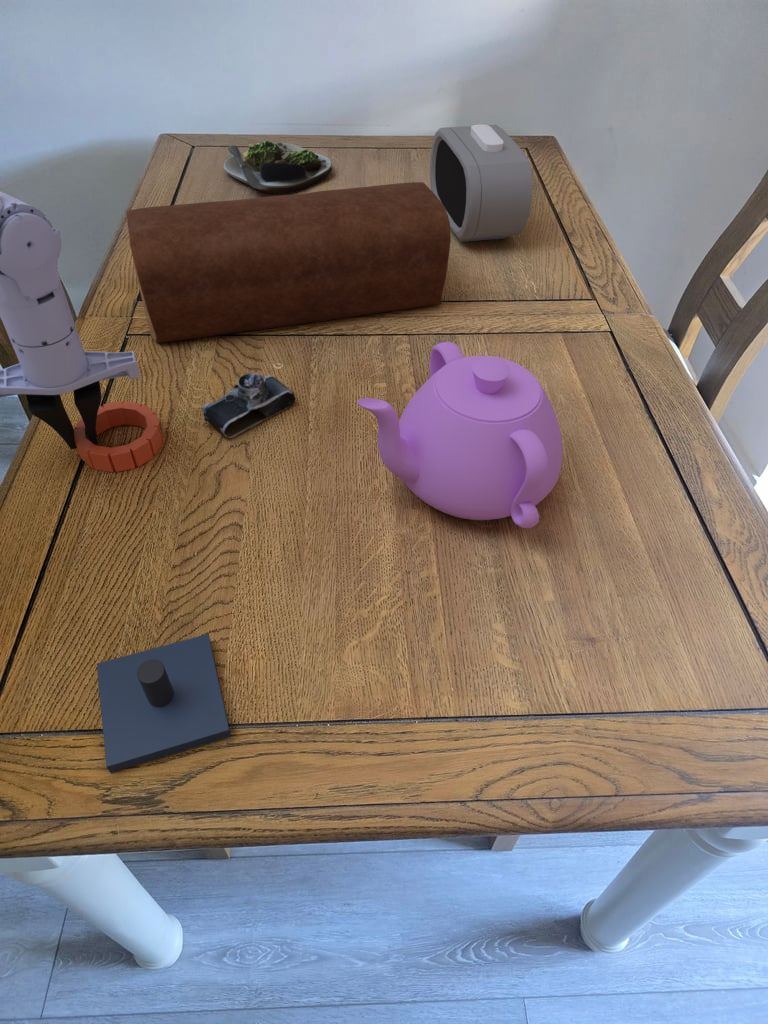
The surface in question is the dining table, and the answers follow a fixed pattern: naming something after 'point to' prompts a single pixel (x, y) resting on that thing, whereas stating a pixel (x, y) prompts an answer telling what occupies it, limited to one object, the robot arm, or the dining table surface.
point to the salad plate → (277, 167)
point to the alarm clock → (481, 181)
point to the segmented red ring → (125, 454)
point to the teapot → (474, 438)
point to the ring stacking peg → (160, 702)
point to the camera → (248, 404)
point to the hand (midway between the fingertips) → (83, 440)
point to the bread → (288, 259)
